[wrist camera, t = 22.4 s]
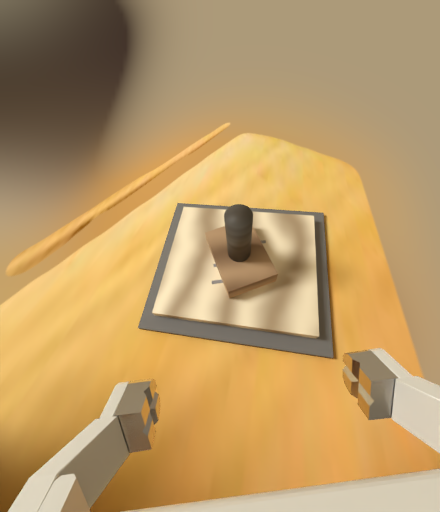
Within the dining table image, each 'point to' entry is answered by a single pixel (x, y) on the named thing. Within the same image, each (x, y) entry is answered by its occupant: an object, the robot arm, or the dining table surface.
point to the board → (254, 301)
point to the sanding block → (240, 253)
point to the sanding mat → (241, 335)
